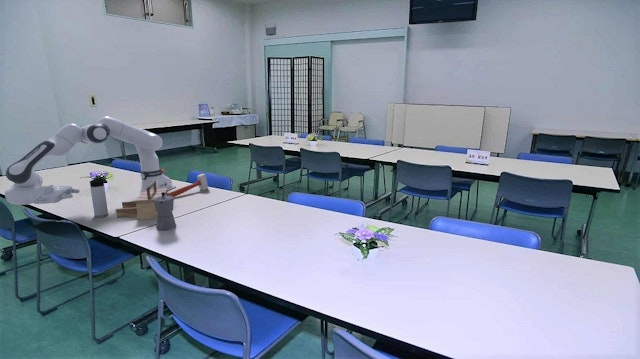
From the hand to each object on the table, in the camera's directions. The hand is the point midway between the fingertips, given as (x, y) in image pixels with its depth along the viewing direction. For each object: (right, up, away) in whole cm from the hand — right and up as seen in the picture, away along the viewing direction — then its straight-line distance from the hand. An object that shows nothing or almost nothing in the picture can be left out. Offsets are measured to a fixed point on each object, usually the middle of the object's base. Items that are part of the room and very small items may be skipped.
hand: (75, 193), depth 185 cm
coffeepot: (+51, -16, -8) cm, 54 cm away
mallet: (+40, -2, +49) cm, 64 cm away
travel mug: (+10, -12, +6) cm, 17 cm away
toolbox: (+30, -11, +11) cm, 34 cm away
